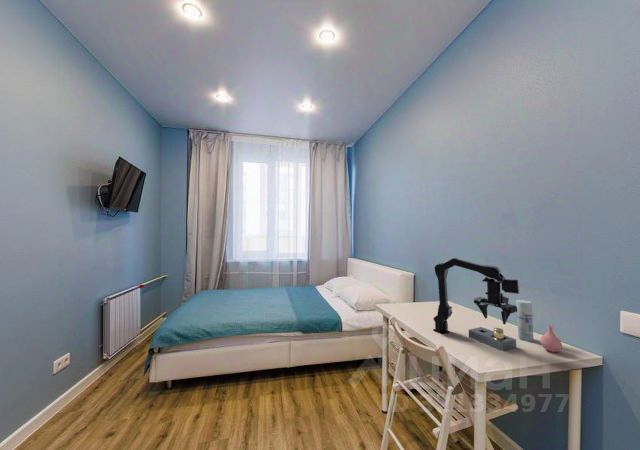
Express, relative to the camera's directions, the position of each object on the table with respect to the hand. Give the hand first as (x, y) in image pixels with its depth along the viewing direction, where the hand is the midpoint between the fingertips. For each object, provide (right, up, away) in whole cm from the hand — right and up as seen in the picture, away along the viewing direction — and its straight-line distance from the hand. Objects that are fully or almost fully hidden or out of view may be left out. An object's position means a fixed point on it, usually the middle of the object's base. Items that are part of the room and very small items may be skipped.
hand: (494, 321), depth 128 cm
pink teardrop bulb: (+21, -11, -9) cm, 26 cm away
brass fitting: (+1, -12, -1) cm, 12 cm away
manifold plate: (0, -12, +2) cm, 12 cm away
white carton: (+20, -12, +5) cm, 24 cm away
